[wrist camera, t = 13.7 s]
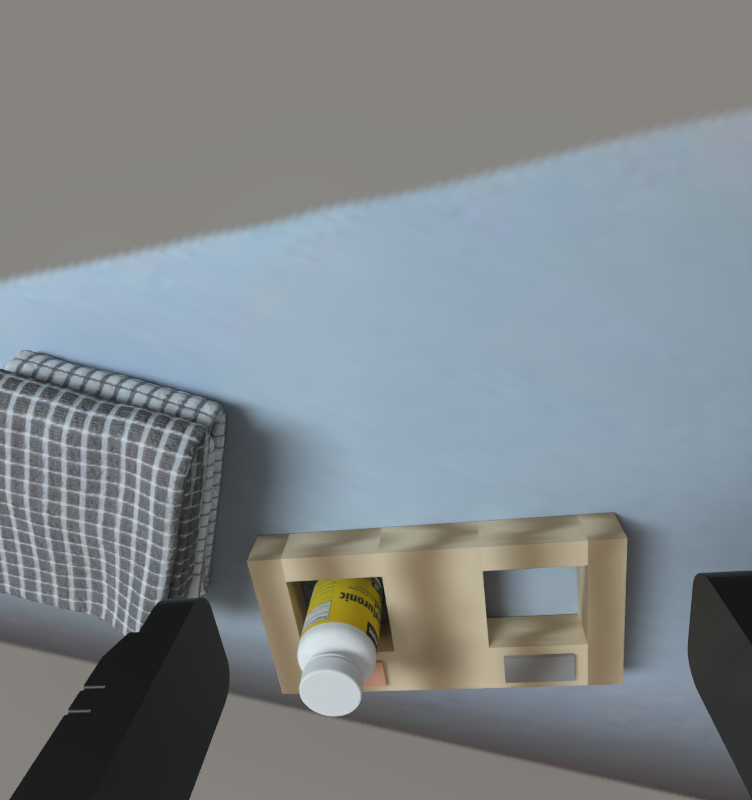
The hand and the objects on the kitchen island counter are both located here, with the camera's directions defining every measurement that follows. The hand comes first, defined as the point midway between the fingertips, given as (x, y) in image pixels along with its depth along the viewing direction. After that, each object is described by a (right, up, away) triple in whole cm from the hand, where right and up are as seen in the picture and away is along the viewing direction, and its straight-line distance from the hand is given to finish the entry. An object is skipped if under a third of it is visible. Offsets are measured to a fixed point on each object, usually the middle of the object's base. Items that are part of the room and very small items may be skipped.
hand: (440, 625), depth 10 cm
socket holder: (+4, -11, +35) cm, 37 cm away
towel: (-20, -2, +34) cm, 39 cm away
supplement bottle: (-3, -11, +36) cm, 37 cm away
